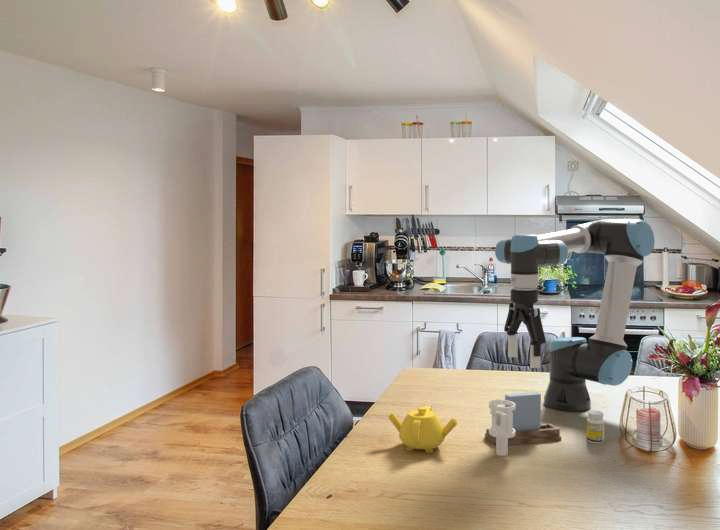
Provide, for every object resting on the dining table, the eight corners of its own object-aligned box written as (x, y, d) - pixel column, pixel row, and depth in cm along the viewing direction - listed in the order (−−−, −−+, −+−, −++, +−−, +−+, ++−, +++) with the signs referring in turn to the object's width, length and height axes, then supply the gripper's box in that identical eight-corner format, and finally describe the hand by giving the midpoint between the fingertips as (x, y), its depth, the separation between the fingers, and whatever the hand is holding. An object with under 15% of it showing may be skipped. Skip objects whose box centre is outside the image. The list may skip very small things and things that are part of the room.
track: (546, 430, 185) (547, 421, 185) (561, 440, 177) (561, 429, 177) (484, 436, 181) (484, 426, 181) (496, 446, 173) (496, 435, 173)
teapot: (463, 439, 178) (463, 402, 178) (451, 463, 162) (451, 421, 161) (396, 432, 185) (396, 396, 184) (378, 454, 168) (378, 414, 167)
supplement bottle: (591, 437, 180) (591, 408, 179) (607, 441, 176) (607, 412, 176) (583, 441, 176) (584, 412, 176) (599, 445, 173) (600, 416, 172)
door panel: (535, 431, 182) (535, 391, 181) (540, 434, 179) (540, 394, 178) (503, 434, 180) (504, 393, 179) (508, 437, 177) (508, 396, 176)
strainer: (483, 451, 169) (483, 397, 168) (504, 447, 172) (505, 394, 171) (498, 460, 163) (499, 404, 162) (520, 456, 166) (521, 401, 165)
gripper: (493, 284, 187) (492, 353, 189) (533, 294, 163) (533, 373, 165) (515, 283, 189) (515, 352, 191) (559, 293, 165) (558, 371, 166)
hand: (523, 362), depth 178 cm, fingers open, 13 cm apart
